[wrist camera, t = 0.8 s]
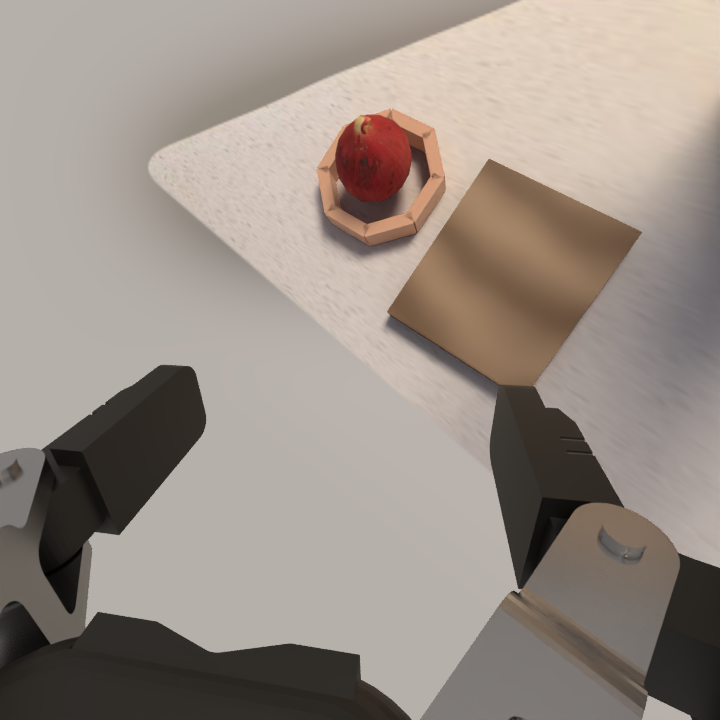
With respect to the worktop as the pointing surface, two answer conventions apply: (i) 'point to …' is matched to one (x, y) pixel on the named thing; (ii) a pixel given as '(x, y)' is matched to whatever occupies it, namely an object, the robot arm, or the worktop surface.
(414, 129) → the ring holder
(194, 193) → the worktop surface
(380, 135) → the onion
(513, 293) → the walnut board
